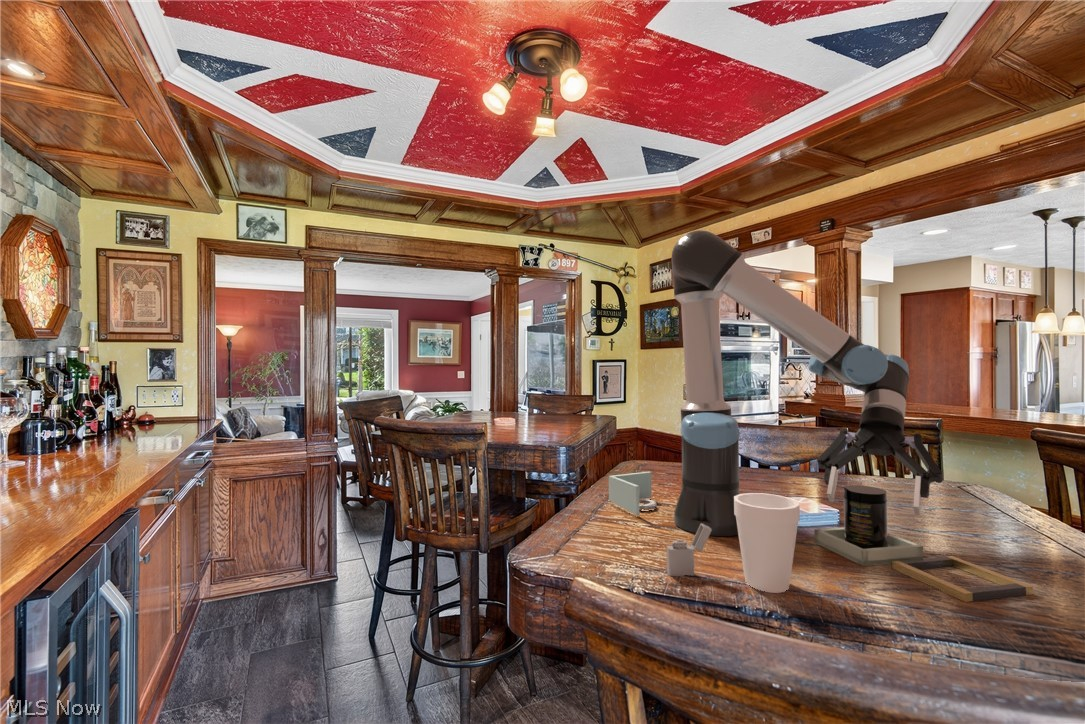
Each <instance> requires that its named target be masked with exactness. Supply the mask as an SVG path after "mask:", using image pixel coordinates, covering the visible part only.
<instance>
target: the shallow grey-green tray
mask: <svg viewBox="0 0 1085 724" xmlns="http://www.w3.org/2000/svg"><path fill="white" fill-rule="evenodd" d="M813 532H814V533H813V535H814V537H813V538H814V541H813V542H814V544H817V545H819V546H821V547H823V548H825V549H827V550H829V551H831V552H833V553H835V554H838V555H839V556H841V557H843V558H845V559H847V560H849V561H852V562H853V563H855V564H858V565H860V566H861V567H869V566H871V567H872V566H881V565H883V566H884V565H892V561H902V560H913V559H923V558H924V546H923V545H920V544H919V543H915V542H912V541H910V540H908V539H904V538H902V537H899V536H897V535H895V534H892V533H890V532H887V534H888V547H880V548H868V549H862V548H860V547H858V546H856V545H853V544H851V543H849V542H847V541H845V535H844V527H830V528H817V529H815V528H814V531H813Z"/></svg>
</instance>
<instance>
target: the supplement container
mask: <svg viewBox="0 0 1085 724" xmlns="http://www.w3.org/2000/svg"><path fill="white" fill-rule="evenodd" d="M842 491H843V495H842V496H843V520H844V521H843V523H844V535H845V541H847V542H849V543H851V544H853V545H856V546H858V547H860V548H862V549H868V548H880V547H888V534H887V533H888V492H887V490H885V489H883V488H878V487H875V486H869V485H857V484H854V485H853V484H852V485H845V486H843V489H842Z"/></svg>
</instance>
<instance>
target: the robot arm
mask: <svg viewBox="0 0 1085 724" xmlns="http://www.w3.org/2000/svg"><path fill="white" fill-rule="evenodd" d="M671 266H672V267H671V272H672V273H671V274H672V281H673V295H674V297H673V298H674V299H675V300H676V301H677V302H678V303H679V304H680V307H681V308H680V309H681V324H682V343H683V359H684V360H683V362H684V376H685V380H684V381H685V394H686V396H685V397H686V398H685V400H686V401H685V402H684V403H683V405H682V406H681V407H680V420H681V421H680V423H681V427H680V434H681V435H680V436H681V476H682V477H681V481H682V482H681V484H682V485H681V490H680V493H679V496H678V499H677V502H676V505H675V508H674V513H673V517H674V521H673V522H674V524H675V525H676V526H677V527H678V528H680V529H682V530H685V531H687V532H690V533H694V534H696V533H697V531H698V528H699V526H700V524H701V523H702V524H704V525H706V526H709V527H710V528H711V529H712V531H711V533H710V535H709V536H713V537H730V536H731V537H732V536H739V535H738V528H737V521H736V515H734V496H736V495H739V494H741V492H740V458H739V457H740V454H739V453H740V448H739V445H740V444H739V441H740V440H739V438H740V434H741V433H740V429H739V423H738V420H737V419H736V418H735V417H733V416H732V407H731V405H729V404H728V403H727V402H726V401H725V400H724V397H725V396H724V384H723V383H724V382H723V381H724V379H723V367H722V366H723V365H722V364H723V363H722V349H721V348H722V346H721V330H720V315H719V314H720V311H719V300H720V299H721V298H722V296H723V295H726V296H728V297H729V298H730V299H732V300H733V301H734V302H736V303H737V304H739V305H740V306H741V307H743V308H745V309H746V310H747V311H749V313H751V314H753V315H754V316H756V317H757V318H759V319H760V320H762V321H763V322H764V323H765V324H767V325H768V326H769V327H771V328H772V329H774V330H776V331H777V333H779V334H781V335H782V336H784V337H785V338H786V339H788V340H790V342H792V343H794V344H795V345H796V346H798V347H799V348H800V349H802V350H803V351H805V352H806V353H808V354H809V355H811V356H810V359H809V360H808V365H807V366H808V370H809V372H811V373H812V374H815V375H817V376H819V377H820V378H825V379H828V380H830V381H833V382H836V383H839V384H842V385H844V386H847V387H850V388H852V389H855V390H857V391H860V392H863V401H862V407H861V414H860V420H859V427H858V430H857V431H855V432H851V431H848V429H847V428H841V429H840V432H839V434H838V436H837V437H836V438H835V439H834V441H833V442H831V444H830V445H828V447H827V448H826V449H825V450H824V451H823V452H822V453H821V454H820V456H818V457H817V458H816V461H817V466H818V468H819V469H820V470H824V476H823V479H824V483H825V485H827V490H826V497H827V498H828V501H829V502H830V503H831V502H832V503H834V501H835V497H836V489H837V484H838V479H839V472H838V470H840V469H841V468H843V467H844V466H846V465H848V464H849V463H850V462H851V463H852V461H854V460H855V459H857V458H859V457H863V456H864V455H866V454H867V453H868V455H871V456H876V455H879V456H883V457H888V456H890V455H891V456H892V457H894V458H895V459H896V460H897V461H899V462H900V463H902V464H903V466H904V467H906V468H907V469H908V471H909V472H911V473H912V474H913V476H915V477H914V478H915V479H914V481H915V483H914V493H913V495H914V496H913V507H912V508H913V511H914V515H915V516H921V506H922V498H925V499H928V498H929V497H930V486H931V483H938V484H941V483H943V481H944V480H943V472H942V470H941V469H940V467H939V466H938V464H937V463H936V461H935V460H934V459H933V457H932V456H931V454H930V453H929V451H928V449H927V448H926V447H925V445H924V444H923V437H922V434H920V433H914V434H913V436H905V435H904V430H905V429H904V427H905V419H906V408H907V396H908V395H907V394H908V387H909V382H910V371H909V369H910V368H909V365H908V363H907V361H906V360H905V359H904V358H902V357H901V356H899V355H895V354H885V353H884V352H883V351H882V350H881V349H879V348H878V347H875V346H872V345H869V344H864V343H862V342H861V341H859V340H858V339H857V338H856V337H853V336H852V335H850V334H849V333H848V332H846V331H845V330H844V329H842V328H840V327H839V326H838V325H836V324H835V323H834V322H832V321H831V320H829V319H828V318H826V317H825V316H823V315H822V314H820V313H819V312H818V311H816V310H815V309H814V308H812V307H811V306H809V305H808V304H807V303H804V302H803V301H802V300H800V299H799V298H798V297H797V296H795V295H793V294H792V293H790V292H789V291H787V290H786V289H785V288H783V287H782V286H780V285H779V284H778V283H775V282H774V281H773V280H771V279H770V278H769V277H767V276H766V275H765V274H763V273H762V272H760V271H759V270H757V269H756V268H754V267H753V266H751V265H750V264H749V263H747V262H746V261H745V255H744V254H743V253H742V252H740V251H739V250H737V249H736V248H734V247H733V245H730V243H728V242H727V241H726V240H724V239H722V237H719V236H718V235H717V234H716V233H712V232H710V231H708V230H701V229H699V230H694V231H693V230H692V231H690V232H687V233H685V234H684V235H683V236H681V237H680V238H679V239H678V240H677V241H676V243H675V245H674V246H673V249H672V252H671ZM853 440H855V441H854V442H853V444H852V445H851V446H849V447H848V448H846V446H847V445H848V444H850V443H851V442H852V441H853ZM906 444H907V445H908V446H909V447H910V448H912V449H915V452H916V455H917V456H918V458H919V459H920V460H921V462H922V463H923V466H925V468H926V469H925V468H924V467H923V466H922V465H921V464H920V463H918V462H917V461H916V460H915V459H914V458H913V457H912V456H911V455H910V454H909V453H907V452H906V451H905V450H904V448H903V446H905V445H906ZM845 448H846V449H845ZM844 449H845V450H844Z"/></svg>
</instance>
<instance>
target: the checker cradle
mask: <svg viewBox="0 0 1085 724" xmlns="http://www.w3.org/2000/svg"><path fill="white" fill-rule="evenodd" d="M891 565H892V567H891V568H892V569H893V570H894V571H897V572H899V573H901V574H903V575H906V576H909V578H912V579H914V580H916V581H919V582H921V583H923V584H925V583H926V584H925V585H927V584H928V585H927V586H929V585H930V587H932V586H933V587H932V588H934V587H935V588H934V589H936V588H937V589H936V590H938V589H939V590H938V591H940V590H941V592H942V591H943V593H945V594H947V595H948V596H949V595H950V596H951V597H954V598H956V599H958V600H960V601H962V602H964V603H969V602H970V601H971V602H977V600H980V601H988V599H989V600H997V598H998V599H1004V598H1015V597H1023V596H1031V595H1034V587H1033V585H1030V584H1027V583H1025V582H1022V581H1019V580H1017V579H1014V578H1011V577H1010V576H1007V575H1004V574H1001V573H999V572H997V571H993V570H990V569H988V568H986V567H983V566H980V565H979V564H978V565H977V564H975V563H973V562H969V561H966V560H964V559H961V558H959V557H956V556H953V555H947V556H937V557H927V558H926V557H923V559H913V560H902V561H892V564H891ZM949 567H954V568H957V569H959V570H961V571H964V572H967V573H969V574H972V575H975V576H976V577H979V578H982V579H984V580H987V581H990V582H992V583H995V584H997V585H990V586H981V587H980V586H979V587H972V588H971V587H970V588H962V587H960V586H958V585H956V584H953V583H952V582H951V583H950V582H948V581H946V580H944V579H942V578H939V577H937V576H934V575H933V574H930V573H927V572H925V571H923V570H929V569H940V568H941V569H942V568H949Z"/></svg>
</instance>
